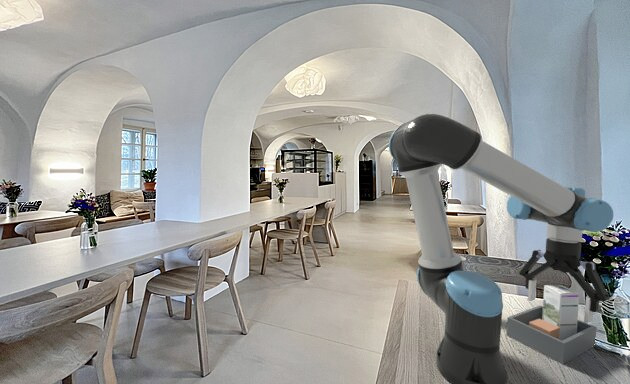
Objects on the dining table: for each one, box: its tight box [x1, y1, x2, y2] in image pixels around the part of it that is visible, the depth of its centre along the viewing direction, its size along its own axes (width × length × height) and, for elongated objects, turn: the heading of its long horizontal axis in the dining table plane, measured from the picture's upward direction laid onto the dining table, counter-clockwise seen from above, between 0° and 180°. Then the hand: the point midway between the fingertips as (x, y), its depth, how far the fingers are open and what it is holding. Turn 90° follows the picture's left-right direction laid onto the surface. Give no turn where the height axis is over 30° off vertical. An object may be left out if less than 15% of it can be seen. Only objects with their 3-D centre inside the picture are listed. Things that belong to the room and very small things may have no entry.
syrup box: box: [542, 284, 580, 341], centre depth 79 cm, size 6×6×14 cm
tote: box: [506, 305, 598, 365], centre depth 78 cm, size 18×14×6 cm
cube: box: [529, 319, 560, 339], centre depth 77 cm, size 5×5×5 cm
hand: (557, 310), depth 80 cm, fingers open, 13 cm apart
